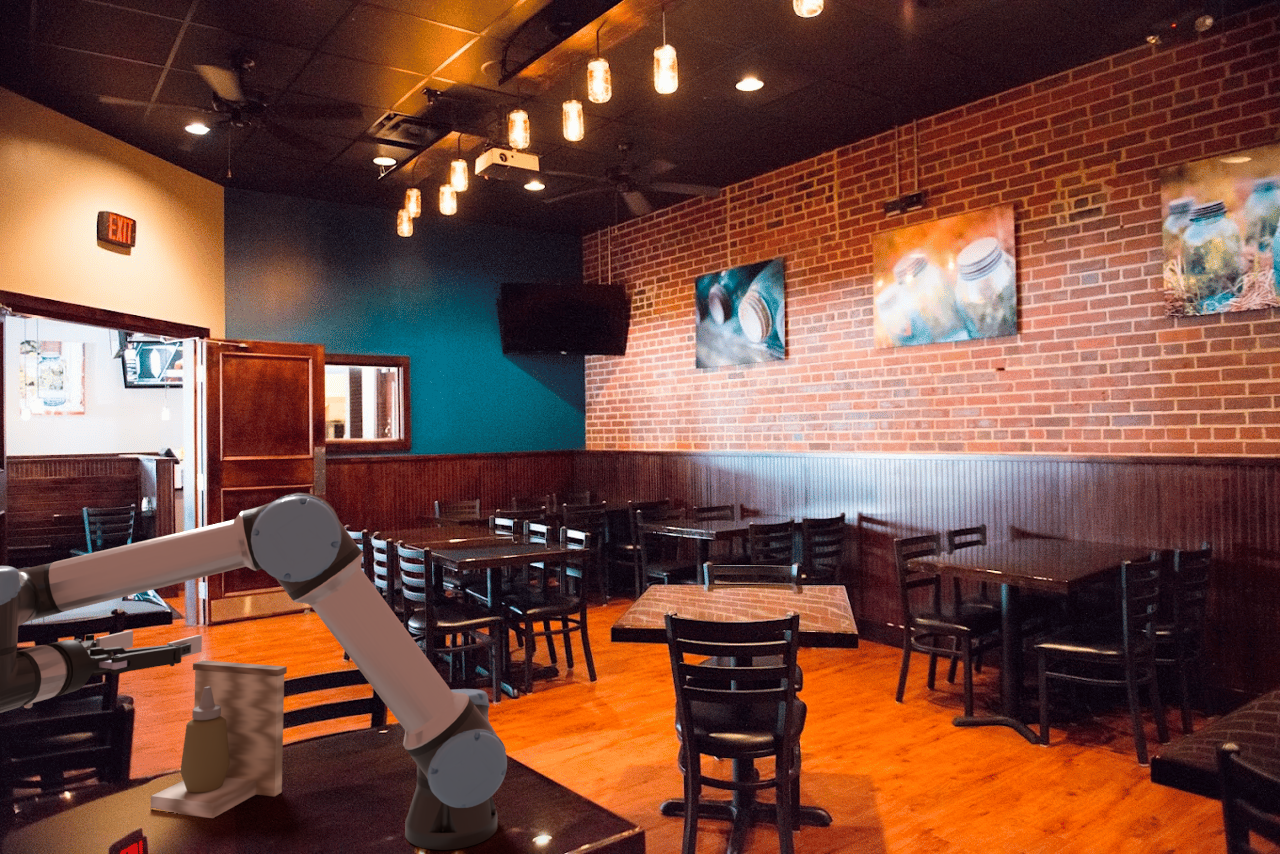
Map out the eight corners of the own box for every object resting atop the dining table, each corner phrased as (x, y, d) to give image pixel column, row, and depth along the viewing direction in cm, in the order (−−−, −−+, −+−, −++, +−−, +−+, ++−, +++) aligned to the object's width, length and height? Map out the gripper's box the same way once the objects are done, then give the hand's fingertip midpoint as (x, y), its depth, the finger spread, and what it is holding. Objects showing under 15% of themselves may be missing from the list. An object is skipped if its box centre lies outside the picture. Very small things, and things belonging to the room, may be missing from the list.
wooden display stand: (284, 792, 160) (286, 666, 161) (234, 820, 147) (237, 684, 148) (199, 782, 165) (203, 660, 166) (144, 809, 152) (148, 677, 153)
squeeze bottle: (209, 798, 151) (211, 694, 152) (169, 794, 152) (171, 692, 153) (239, 781, 159) (241, 683, 160) (200, 778, 160) (203, 680, 161)
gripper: (-22, 691, 124) (102, 659, 145) (119, 704, 118) (228, 668, 139) (-20, 639, 125) (104, 614, 145) (121, 649, 119) (229, 621, 139)
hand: (165, 640), depth 142 cm, fingers open, 13 cm apart
